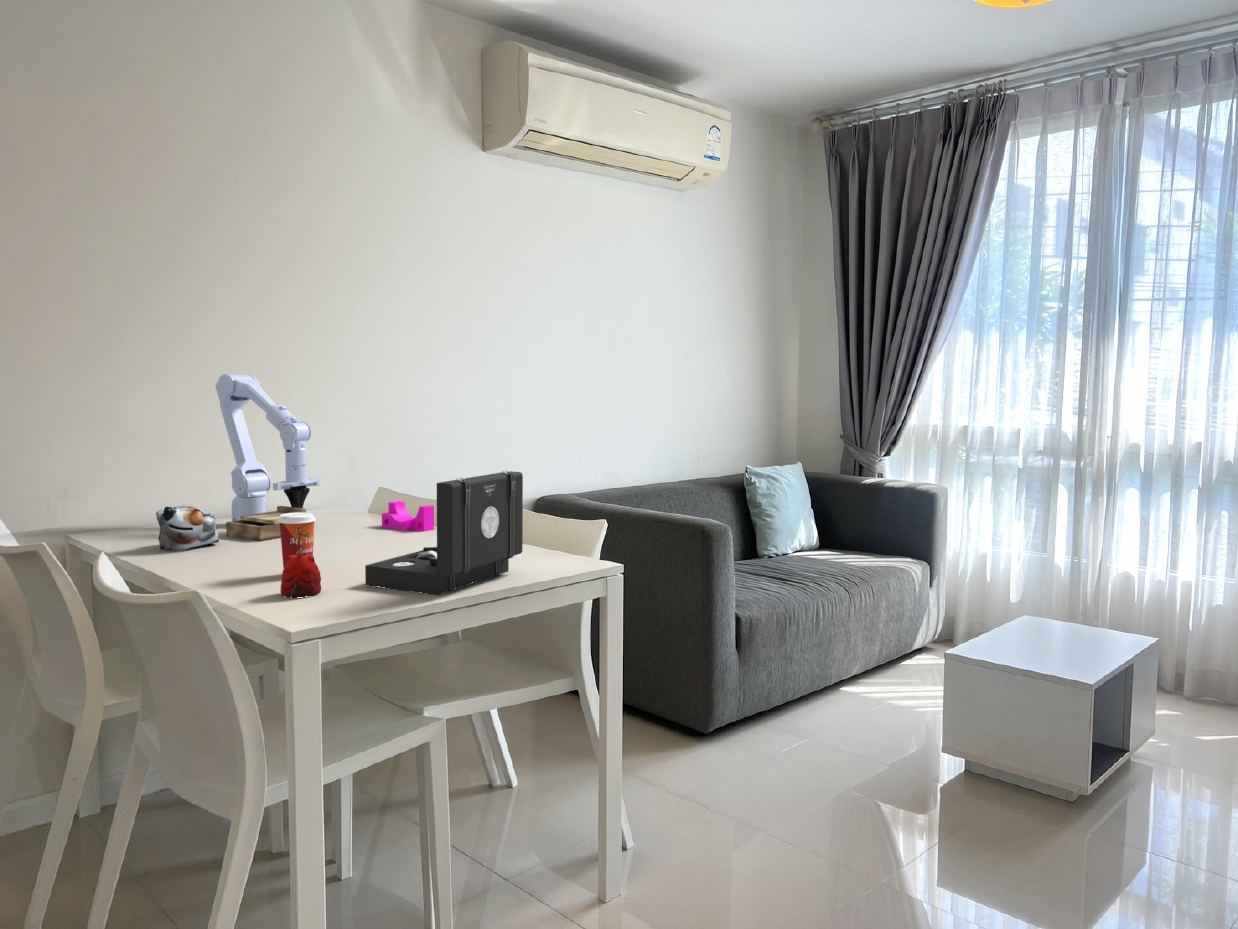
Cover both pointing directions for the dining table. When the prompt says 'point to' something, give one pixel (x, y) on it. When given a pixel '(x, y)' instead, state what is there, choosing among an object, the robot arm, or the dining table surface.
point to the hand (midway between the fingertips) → (297, 513)
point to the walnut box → (252, 530)
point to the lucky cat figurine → (185, 528)
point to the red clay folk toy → (300, 574)
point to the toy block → (408, 518)
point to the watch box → (462, 537)
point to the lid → (272, 515)
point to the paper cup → (290, 537)
